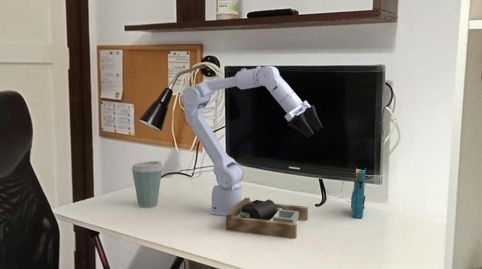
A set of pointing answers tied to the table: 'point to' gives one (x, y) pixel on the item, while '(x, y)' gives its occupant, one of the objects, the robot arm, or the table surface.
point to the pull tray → (280, 216)
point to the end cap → (260, 210)
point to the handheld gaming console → (358, 195)
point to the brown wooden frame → (264, 221)
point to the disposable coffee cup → (147, 182)
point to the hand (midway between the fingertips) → (315, 132)
